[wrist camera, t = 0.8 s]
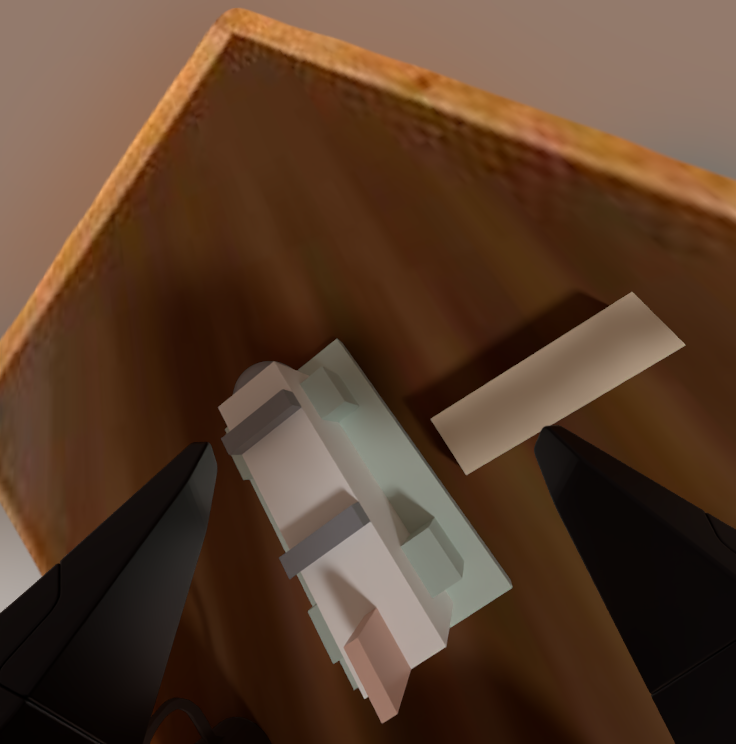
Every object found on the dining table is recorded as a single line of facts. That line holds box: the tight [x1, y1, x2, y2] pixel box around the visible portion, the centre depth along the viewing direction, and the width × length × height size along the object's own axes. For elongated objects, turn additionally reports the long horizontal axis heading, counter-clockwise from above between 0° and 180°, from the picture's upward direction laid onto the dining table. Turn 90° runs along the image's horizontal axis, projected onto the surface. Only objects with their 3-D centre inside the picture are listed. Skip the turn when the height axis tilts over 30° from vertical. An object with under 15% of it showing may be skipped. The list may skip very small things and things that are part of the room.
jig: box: [218, 339, 512, 723], centre depth 22 cm, size 21×12×9 cm, turn 35°
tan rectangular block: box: [431, 292, 685, 475], centre depth 22 cm, size 4×14×3 cm, turn 121°
